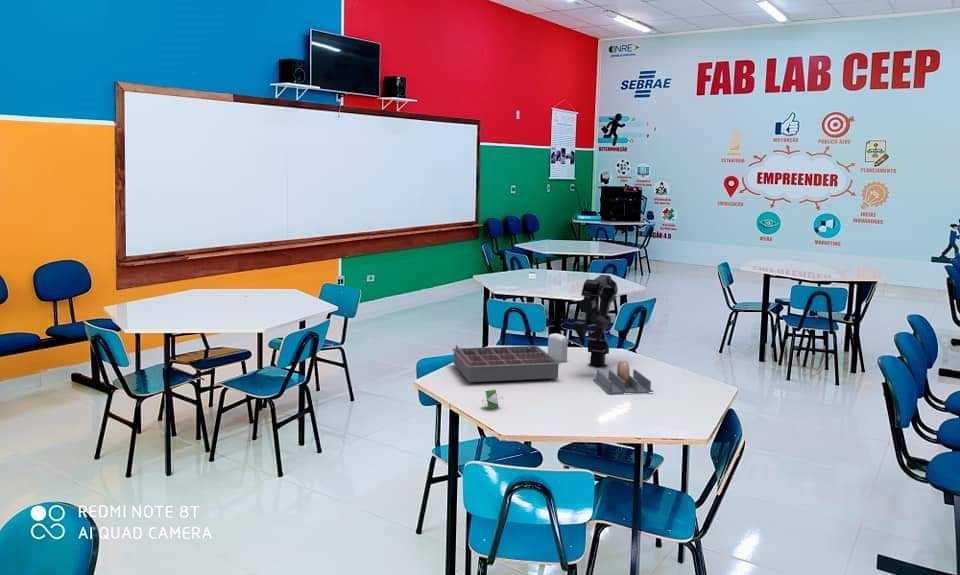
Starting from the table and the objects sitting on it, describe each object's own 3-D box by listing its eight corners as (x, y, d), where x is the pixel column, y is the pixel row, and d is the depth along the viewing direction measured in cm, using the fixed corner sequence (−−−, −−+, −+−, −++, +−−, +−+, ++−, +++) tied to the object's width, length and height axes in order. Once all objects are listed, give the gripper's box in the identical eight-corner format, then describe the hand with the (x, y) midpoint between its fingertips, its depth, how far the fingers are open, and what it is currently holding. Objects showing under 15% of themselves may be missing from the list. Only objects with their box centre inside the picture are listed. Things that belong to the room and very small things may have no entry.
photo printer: (546, 358, 356) (547, 332, 354) (552, 357, 359) (553, 331, 357) (561, 362, 348) (562, 336, 347) (568, 361, 351) (569, 335, 349)
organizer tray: (560, 381, 318) (561, 358, 316) (467, 386, 308) (467, 362, 307) (536, 362, 348) (537, 341, 347) (451, 366, 339) (451, 344, 337)
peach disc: (615, 382, 316) (616, 358, 314) (622, 381, 316) (623, 358, 315) (622, 388, 307) (623, 364, 305) (630, 388, 307) (631, 364, 306)
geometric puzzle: (476, 399, 283) (483, 386, 278) (492, 396, 286) (499, 383, 281) (484, 414, 279) (491, 401, 274) (500, 412, 282) (507, 399, 277)
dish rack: (593, 380, 320) (593, 369, 319) (636, 379, 323) (636, 368, 322) (607, 394, 300) (608, 382, 300) (653, 393, 303) (654, 381, 303)
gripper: (590, 313, 316) (589, 350, 319) (620, 309, 328) (618, 344, 330) (571, 309, 325) (570, 344, 327) (601, 305, 337) (599, 339, 339)
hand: (590, 343), depth 331 cm, fingers open, 9 cm apart
